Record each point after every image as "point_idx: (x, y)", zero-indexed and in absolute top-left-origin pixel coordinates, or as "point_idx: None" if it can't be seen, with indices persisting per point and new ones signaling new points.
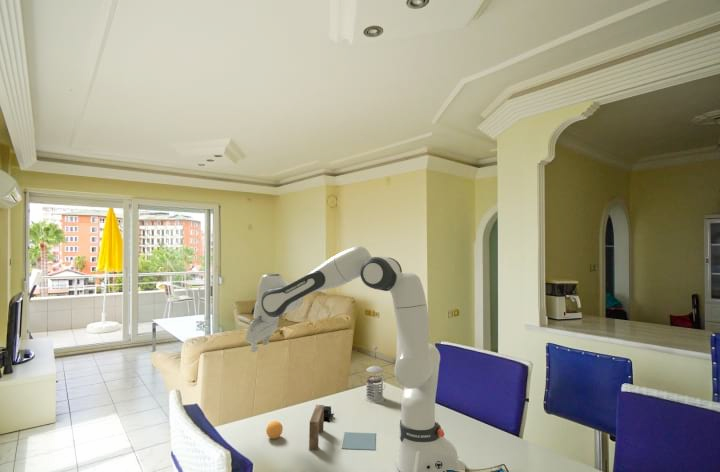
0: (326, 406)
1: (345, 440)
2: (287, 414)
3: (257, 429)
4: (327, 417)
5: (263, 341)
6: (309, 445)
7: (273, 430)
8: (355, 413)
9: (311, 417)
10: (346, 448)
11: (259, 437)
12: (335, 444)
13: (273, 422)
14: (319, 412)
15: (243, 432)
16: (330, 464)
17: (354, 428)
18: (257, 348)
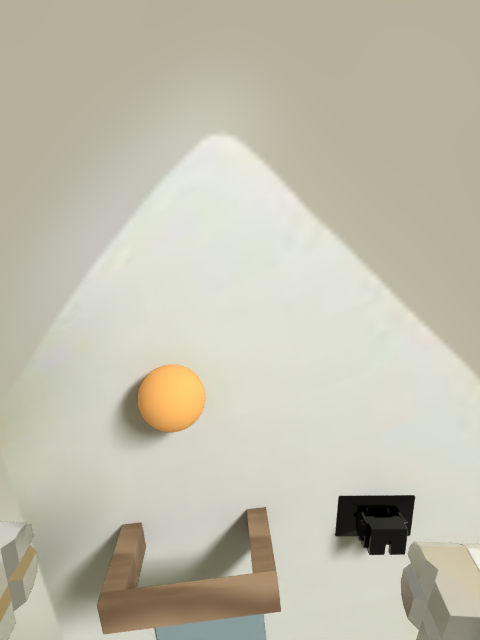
0: (403, 538)
1: None
2: (382, 363)
3: (227, 293)
4: (357, 530)
5: (435, 600)
6: (119, 536)
7: (139, 409)
8: None
9: (141, 599)
10: (155, 628)
11: (165, 329)
12: None
13: (161, 408)
14: (198, 615)
15: (191, 247)
16: (57, 603)
17: (298, 622)
18: (8, 630)
